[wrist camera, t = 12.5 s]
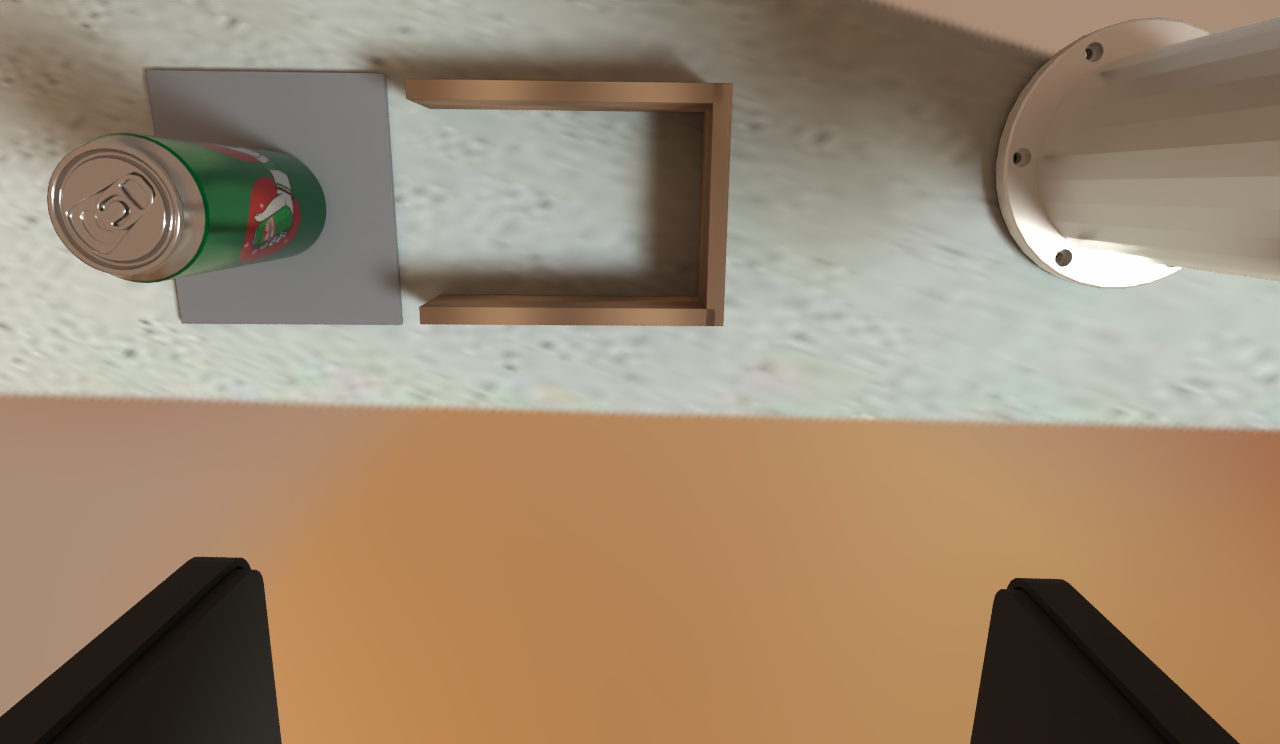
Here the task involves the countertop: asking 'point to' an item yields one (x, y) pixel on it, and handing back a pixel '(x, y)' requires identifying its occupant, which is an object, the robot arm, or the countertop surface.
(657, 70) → the countertop surface
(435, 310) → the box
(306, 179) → the soda can
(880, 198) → the countertop surface
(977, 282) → the countertop surface
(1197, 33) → the robot arm
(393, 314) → the mat
